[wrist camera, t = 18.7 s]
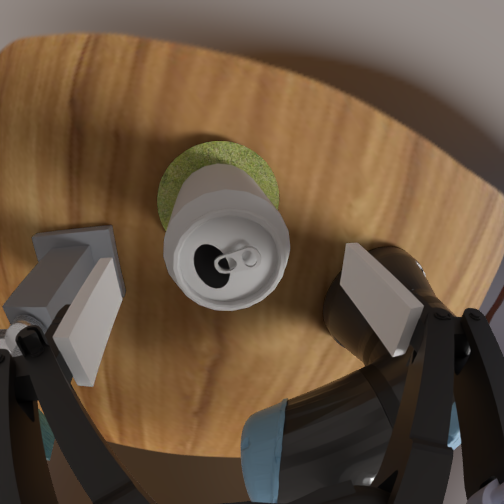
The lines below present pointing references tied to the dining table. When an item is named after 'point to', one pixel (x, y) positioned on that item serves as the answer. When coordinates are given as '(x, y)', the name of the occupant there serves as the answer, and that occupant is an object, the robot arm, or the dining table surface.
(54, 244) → the grey pedestal post
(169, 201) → the mat
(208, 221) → the can
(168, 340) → the dining table surface
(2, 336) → the teal grip latch lever
